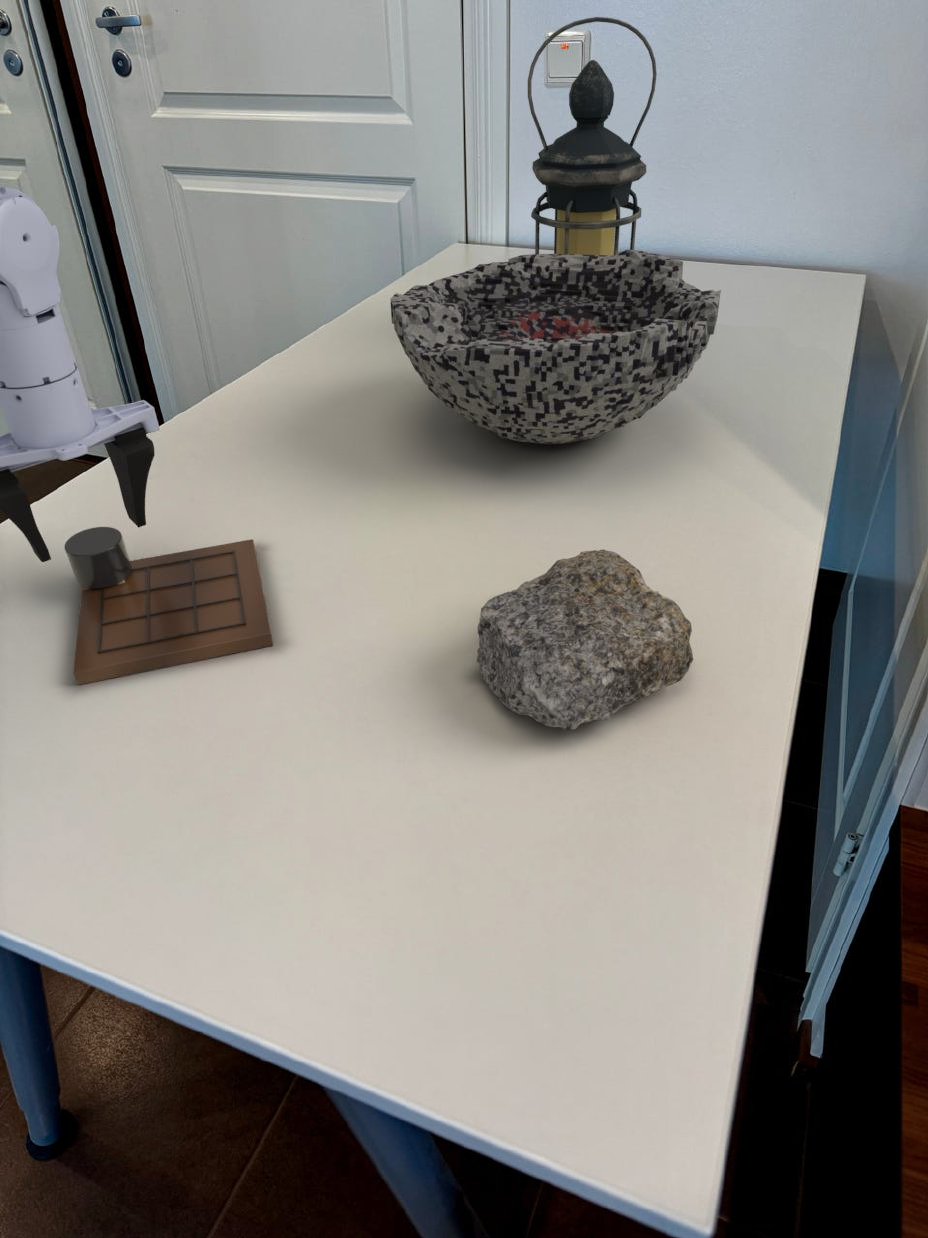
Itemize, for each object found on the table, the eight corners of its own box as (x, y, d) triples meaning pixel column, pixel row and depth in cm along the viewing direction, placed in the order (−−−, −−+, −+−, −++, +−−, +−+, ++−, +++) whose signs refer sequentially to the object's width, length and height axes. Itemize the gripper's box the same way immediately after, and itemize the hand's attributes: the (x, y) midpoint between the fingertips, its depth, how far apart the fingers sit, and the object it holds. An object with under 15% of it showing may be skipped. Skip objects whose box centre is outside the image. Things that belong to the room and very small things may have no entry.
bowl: (712, 383, 102) (731, 247, 93) (681, 518, 78) (703, 353, 69) (456, 361, 110) (450, 235, 101) (357, 478, 86) (339, 326, 77)
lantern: (626, 321, 120) (649, 9, 99) (645, 356, 109) (675, 16, 88) (522, 326, 120) (522, 15, 99) (530, 362, 109) (533, 22, 88)
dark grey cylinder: (87, 595, 69) (74, 562, 68) (68, 572, 72) (56, 539, 70) (140, 574, 72) (130, 541, 70) (120, 553, 74) (109, 520, 72)
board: (77, 685, 63) (71, 671, 62) (87, 580, 74) (82, 566, 73) (273, 645, 66) (270, 631, 65) (255, 550, 77) (252, 536, 76)
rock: (545, 766, 55) (720, 683, 61) (551, 690, 51) (738, 609, 57) (443, 655, 64) (606, 592, 70) (442, 583, 60) (615, 522, 66)
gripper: (-62, 420, 56) (12, 595, 64) (155, 361, 62) (197, 525, 71) (-87, 388, 60) (-15, 555, 68) (118, 336, 67) (162, 493, 75)
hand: (91, 538), depth 70 cm, fingers open, 7 cm apart
